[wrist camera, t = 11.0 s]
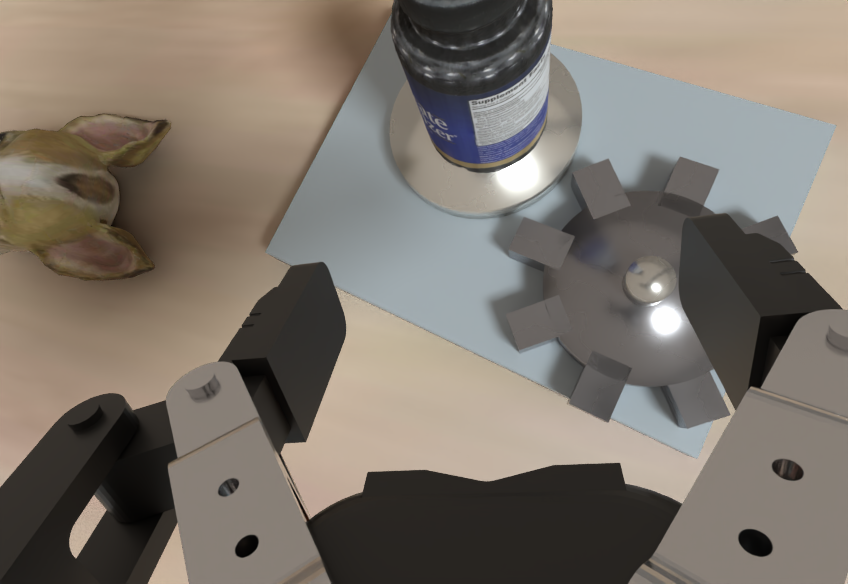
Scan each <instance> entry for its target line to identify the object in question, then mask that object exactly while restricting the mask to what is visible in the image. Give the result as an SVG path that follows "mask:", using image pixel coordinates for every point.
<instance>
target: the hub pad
mask: <svg viewBox="0 0 848 584" xmlns="http://www.w3.org/2000/svg"><path fill="white" fill-rule="evenodd" d="M581 126H582V104H581V99H580V94H579V91H578V88H577V86H576V83H575V81H574V79H573V78H572V76H571V74H570V72H569V71H568V70H567V68H566V67H565V66H564V65H563V63H562V62H561V61H560V60H558V59H557V58H556V57H555V56H554V55H553V54H551V53H550V71H549V93H548V113H547V123H546V127H545V129H544V131H543V134H542V136H541V138H540V140H539V142H538V143H537V145H536V147H535V148H534V149H533V150H532V151H531V152H530V153H529V154H528V155H527V156H526V157H524V158H523V159H522V160H521V161H519V162H517V163H515V164H514V165H512V166H509V167H507V168H505V169H502V170H500V171H496V172H490V173H476V172H470V171H468V170H467V169H465V168H463V167H457V166H455V165H452V164H450V163H449V162H447V161H446V160H445V159H444V158H443V157H442V156H441V155H440V154H439V153H438V152H437V150H436V149H435V147H434V145H433V143H432V141H431V139H430V136H429V134H428V132H427V129H426V127H425V124H424V121H423V118H422V116H421V114H420V111H419V109H418V106H417V103H416V101H415V98H414V96H413V94H412V91H411V88H410V85H409V83H408V80H406V82H405V83H404V85H403V87H402V88H401V90H400V92H399V94H398V96H397V98H396V101H395V103H394V106H393V110H392V113H391V119H390V132H389V136H390V145H391V149H392V153H393V157H394V159H395V161H396V164H397V166H398V168H399V170H400V172H401V173H402V175H403V177H404V178H405V180H406V182H407V183H408V185H409V186H410V187H411V189H412V190H413V191H414V192H415V193H416V194H417V195H418V196H419V197H420V198H421V199H422V200H423V201H424V202H426V203H427V204H429V205H430V206H432V207H433V208H435V209H437V210H439V211H442V212H444V213H446V214H449V215H452V216H455V217H461V218H466V219H493V218H499V217H504V216H507V215H511V214H514V213H517V212H519V211H521V210H523V209H526V208H528V207H530V206H531V205H533V204H535V203H536V202H538V201H540V200H541V199H542V198H543V197H545V196H546V195H547V194H548V193H550V192H551V191H552V190H553V189H554V188H555V187H556V185H557V184H558V183H559V182H560V181H561V179H562V178H563V177H564V175H565V174H566V173H567V171H568V169H569V167H570V166H571V164H572V162H573V159H574V157H575V154H576V152H577V148H578V143H579V139H580V133H581Z"/></svg>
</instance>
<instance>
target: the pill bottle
mask: <svg viewBox="0 0 848 584" xmlns="http://www.w3.org/2000/svg"><path fill="white" fill-rule="evenodd" d="M552 11H553V8H552V0H394V3H393V7H392V16H391V34H392V39H393V43H394V46H395V50H396V52H397V55H398V58H399V60H400V62H401V65H402V68H403V70H404V73H405V75H406V78H407V80H408V83H409V85H410V88H411V91H412V94H413V96H414V98H415V101H416V103H417V106H418V109H419V111H420V114H421V116H422V118H423V121H424V124H425V127H426V129H427V132H428V134H429V136H430V139H431V141H432V143H433V145H434V147H435V149H436V150H437V152H438V153H439V154H440V155H441V156H442V157H443V158H444V159H445V160H446V161H447V162H449V163H450V164H452V165H455V166H457V167H463V168H465V169H467V170H468V171H470V172H476V173H490V172H496V171H500V170H502V169H505V168H507V167H509V166H512V165H514V164H515V163H517V162H519V161H521V160H522V159H523V158H524V157H526V156H527V155H528V154H529V153H530V152H531V151H532V150H533V149H534V148H535V147H536V145H537V143H538V142H539V140H540V138H541V136H542V134H543V131H544V129H545V127H546V123H547V113H548V93H549V71H550V47H551V29H552V16H553V15H552Z"/></svg>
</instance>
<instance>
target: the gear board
mask: <svg viewBox="0 0 848 584" xmlns="http://www.w3.org/2000/svg"><path fill="white" fill-rule="evenodd" d="M391 16H392V13H391V15H390V17H389V19H388V21H387V23H386V25H385V27H384V29H383V30H382V32H381V34H380V36H379V38H378V40H377V42H376V44H375V46H374V47H373V49H372V51H371V53H370V55H369V57H368V59H367V61H366V63H365V64H364V66H363V68H362V70H361V72H360V74H359V76H358V78H357V80H356V81H355V83H354V85H353V87H352V89H351V91H350V93H349V95H348V97H347V98H346V100H345V102H344V104H343V106H342V108H341V110H340V112H339V114H338V115H337V117H336V119H335V121H334V123H333V125H332V127H331V129H330V131H329V132H328V134H327V136H326V138H325V140H324V142H323V144H322V146H321V148H320V149H319V151H318V153H317V155H316V157H315V159H314V161H313V163H312V165H311V166H310V168H309V170H308V172H307V174H306V176H305V178H304V180H303V182H302V183H301V185H300V187H299V189H298V191H297V193H296V195H295V197H294V199H293V200H292V202H291V204H290V206H289V208H288V210H287V212H286V214H285V216H284V217H283V219H282V221H281V223H280V225H279V227H278V229H277V231H276V233H275V234H274V236H273V238H272V240H271V242H270V244H269V246H268V248H267V250H266V251H265V253H267V254H269V255H271V256H273V257H274V258H276V259H278V260H280V261H282V262H284V263H286V264H288V265H290V266H293V265H299V264H307V263H315V262H324V263H325V264H326V265H327V267H328V269H329V272H330V274H331V277H332V280H333V283H334V286H335V287H336V288H339V289H341V290H343V291H345V292H347V293H349V294H351V295H353V296H355V297H357V298H359V299H362V300H364V301H366V302H368V303H370V304H372V305H374V306H376V307H378V308H380V309H382V310H384V311H387V312H389V313H391V314H393V315H395V316H397V317H399V318H401V319H403V320H405V321H407V322H410V323H412V324H414V325H416V326H418V327H420V328H422V329H424V330H426V331H428V332H430V333H433V334H435V335H437V336H439V337H441V338H443V339H445V340H447V341H449V342H451V343H453V344H456V345H458V346H460V347H462V348H464V349H466V350H468V351H470V352H472V353H474V354H476V355H479V356H481V357H483V358H485V359H487V360H489V361H491V362H493V363H495V364H497V365H499V366H502V367H504V368H506V369H508V370H510V371H512V372H514V373H516V374H518V375H520V376H522V377H525V378H527V379H529V380H531V381H533V382H535V383H537V384H539V385H541V386H543V387H545V388H547V389H550V390H552V391H554V392H556V393H558V394H560V395H562V396H564V397H566V398H568V399H569V398H570V396H571V393H572V391H573V389H574V387H575V385H576V382H577V380H578V378H579V376H580V373H581V371H582V369H583V366H581V365H580V364H579V363H578V362H576V361H575V360H574V359H573V358H572V357H571V356H570V355H569V354H568V353H567V352H566V351H565V349H564V348H563V347H562V346H561V345H560V343H559V342H558V340H557V341H554V342H552V343H549V344H546V345H543V346H540V347H537V348H534V349H532V350H529V351H526V352H523V353H520V352H519V349H518V347H517V344H516V341H515V339H514V336H513V333H512V331H511V328H510V325H509V323H508V320H507V317H506V314H508V313H510V312H513V311H516V310H519V309H521V308H524V307H527V306H530V305H532V304H535V303H538V302H541V301H543V290H542V288H543V276H544V272H543V271H540V270H538V269H535V268H533V267H531V266H528V265H526V264H523V263H521V262H518V261H516V260H514V259H511V258H510V257H509V251H508V249H509V247H510V245H511V243H512V240H513V238H514V236H515V234H516V232H517V230H518V228H519V226H520V224H521V222H522V220H523V217H526V218H529V219H531V220H534V221H537V222H539V223H542V224H544V225H547V226H550V227H552V228H555V229H557V230H560V231H561V230H562V229H563V228H564V226H565V225H566V224H567V223H568V222H569V221H570V220H571V219H572V218H573V217H574V216H576V215H577V214H578V213H579V212H581V211H582V210H581V208H580V205H579V203H578V201H577V199H576V196H575V194H574V192H573V190H572V187H571V185H570V184H571V178H572V172H575V171H577V170H580V169H582V168H585V167H587V166H590V165H593V164H595V163H598V162H600V161H603V160H605V159H608V158H609V160H610V162H611V164H612V167H613V169H614V171H615V173H616V175H617V177H618V179H619V181H620V183H621V186H622V188H623V190H624V192H631V191H660V192H662V191H663V189H664V187H665V184H666V182H667V180H668V178H669V175H670V173H671V171H672V169H673V167H674V166H675V164H676V162H677V161H678V159H679V157H683V158H686V159H689V160H692V161H695V162H699V163H702V164H705V165H708V166H711V167H714V168H717V169H720V170H719V172H718V174H717V177H716V179H715V181H714V183H713V186H712V188H711V190H710V192H709V195H708V197H707V199H706V202H705V204H704V206H705V207H707V208H708V209H710V210H711V211H713V212H714V213H715V214H720V213H727V214H728V215H729V216H730V217H731V218H732V219H733V220H734V221H735V222H736V224H737V225H738V226H739V227H740V228H741V229H742V228H745V227H747V226H750V225H753V224H756V223H758V222H761V221H764V220H767V219H769V218H772V217H775V216H778V217H779V219H780V220H781V222H782V224H783V226H784V228H785V229H786V231H787V233H788V235H789V237H790V236H791V233H792V231H793V229H794V226H795V224H796V221H797V219H798V217H799V214H800V212H801V209H802V207H803V205H804V202H805V200H806V197H807V195H808V193H809V190H810V188H811V185H812V183H813V181H814V178H815V176H816V173H817V171H818V169H819V166H820V164H821V161H822V159H823V157H824V154H825V152H826V149H827V147H828V145H829V142H830V140H831V138H832V135H833V133H834V130H835V128H836V125H833V124H829V123H826V122H822V121H819V120H815V119H812V118H808V117H805V116H801V115H798V114H794V113H791V112H787V111H784V110H780V109H777V108H773V107H770V106H766V105H763V104H759V103H756V102H752V101H749V100H745V99H742V98H738V97H735V96H731V95H728V94H724V93H721V92H717V91H714V90H710V89H707V88H703V87H700V86H696V85H693V84H689V83H686V82H682V81H679V80H675V79H672V78H668V77H665V76H661V75H657V74H654V73H650V72H647V71H643V70H640V69H636V68H633V67H629V66H626V65H622V64H619V63H615V62H612V61H608V60H605V59H601V58H598V57H594V56H591V55H587V54H584V53H580V52H577V51H573V50H570V49H566V48H563V47H559V46H556V45H552V44H551V47H550V53H551V54H553V55H554V56H555V57H556V58H557V59H558V60H560V61H561V62H562V63H563V65H564V66H565V67H566V68H567V70H568V71H569V72H570V74H571V76H572V78H573V79H574V81H575V83H576V86H577V88H578V91H579V94H580V99H581V104H582V126H581V133H580V139H579V143H578V148H577V152H576V154H575V157H574V159H573V162H572V164H571V166H570V167H569V169H568V171H567V173H566V174H565V175H564V177H563V178H562V179H561V181H560V182H559V183H558V184H557V185H556V187H555V188H554V189H553V190H552V191H551V192H550V193H548V194H547V195H546V196H545V197H543V198H542V199H541V200H540V201H538V202H536V203H535V204H533V205H531V206H530V207H528V208H526V209H523V210H521V211H519V212H517V213H514V214H511V215H507V216H504V217H499V218H493V219H466V218H461V217H455V216H452V215H449V214H446V213H444V212H442V211H439V210H437V209H435V208H433V207H432V206H430V205H429V204H427V203H426V202H424V201H423V200H422V199H421V198H420V197H419V196H418V195H417V194H416V193H415V192H414V191H413V190H412V189H411V187H410V186H409V185H408V183H407V182H406V180H405V178H404V177H403V175H402V173H401V172H400V170H399V168H398V166H397V164H396V161H395V159H394V157H393V153H392V149H391V145H390V136H389V132H390V119H391V113H392V110H393V106H394V103H395V101H396V98H397V96H398V94H399V92H400V90H401V88H402V87H403V85H404V83H405V82H406V80H407V78H406V75H405V73H404V70H403V68H402V65H401V62H400V60H399V58H398V55H397V52H396V50H395V46H394V43H393V39H392V34H391ZM710 373H711V375H712V377H713V379H714V381H715V383H716V385H717V387H718V389H719V392H720V394H721V396H722V398H723V396H724V394H725V389H724V387H723V385H722V383H721V381H720V379H719V377H718V376H717V374H716V372H715V370H714V369H713V370H711V371H710ZM610 419H612V420H614V421H616V422H619V423H621V424H623V425H625V426H627V427H629V428H631V429H633V430H635V431H637V432H639V433H642V434H644V435H646V436H648V437H650V438H652V439H654V440H656V441H658V442H660V443H662V444H665V445H667V446H669V447H671V448H673V449H675V450H677V451H679V452H681V453H683V454H685V455H687V456H690V457H693V458H696V459H697V458H698V456H699V454H700V451H701V449H702V446H703V444H704V442H705V439H706V437H707V434H708V432H709V430H710V427H711V425H712V423H713V421H710V422H707V423H704V424H701V425H698V426H695V427H692V428H689V429H686V428H680V427H678V425H677V423H676V421H675V419H674V416H673V414H672V412H671V410H670V407H669V405H668V403H667V401H666V398H665V396H664V394H663V392H662V390H661V387H660V386H659V387H635V386H627V385H625V386H624V388H623V391H622V393H621V395H620V397H619V400H618V402H617V404H616V406H615V409H614V411H613V413H612V416H611V418H610Z"/></svg>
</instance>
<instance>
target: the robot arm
mask: <svg viewBox="0 0 848 584" xmlns="http://www.w3.org/2000/svg"><path fill="white" fill-rule="evenodd" d="M678 284H679V296H680V301H681V305H682V308H683V310H684V312H685V314H686V316H687V318H688V320H689V322H690V324H691V325H692V327H693V329H694V331H695V333H696V335H697V337H698V339H699V341H700V343H701V345H702V347H703V349H704V351H705V352H706V354H707V356H708V358H709V360H710V362H711V364H712V366H713V368H714V370H715V372H716V374H717V376H718V377H719V379H720V381H721V383H722V385H723V387H724V389H725V391H726V393H727V395H728V397H729V399H730V401H731V402H732V404H733V406H734V408H735V410H736V411H735V413H734V415H733V417H732V418H731V420H730V422H729V424H728V425H727V427H726V429H725V431H724V432H723V434H722V436H721V438H720V439H719V441H718V443H717V445H716V446H715V448H714V450H713V452H712V453H711V455H710V457H709V459H708V460H707V462H706V464H705V466H704V467H703V469H702V471H701V473H700V474H699V476H698V478H697V480H696V481H695V483H694V485H693V487H692V488H691V490H690V492H689V494H688V495H687V497H686V499H685V501H684V502H683V504H681V503H680V502H678V501H676V500H674V499H672V498H670V497H667V496H665V495H662V494H660V493H657V492H655V491H652V490H648V489H645V488H642V487H638V486H634V485H629V484H625V482H624V478H623V473H622V469H621V465H620V463H605V464H577V465H553V466H549V467H545V468H541V469H537V470H533V471H530V472H526V473H522V474H518V475H514V476H510V477H506V478H503V479H499V480H495V481H487V482H485V481H478V480H473V479H468V478H463V477H458V476H453V475H448V474H443V473H438V472H433V471H428V470H411V471H384V472H368V473H367V477H366V481H365V485H364V490H363V492H361V493H358V494H355V495H352V496H350V497H347V498H345V499H342V500H340V501H338V502H336V503H334V504H332V505H330V506H329V507H327V508H326V509H324V510H322V511H321V512H319V513H318V514H316V515H315V516H314V517H312V518H311V516H310V514H309V512H308V510H307V508H306V506H305V504H304V501H303V499H302V497H301V495H300V493H299V491H298V489H297V486H296V484H295V482H294V480H293V478H292V476H291V473H290V471H289V469H288V467H287V465H286V463H285V461H284V459H283V457H282V455H281V451H282V448H283V446H284V444H285V443H298V442H306V440H307V438H308V435H309V432H310V430H311V427H312V425H313V422H314V419H315V417H316V414H317V411H318V409H319V406H320V403H321V401H322V398H323V395H324V393H325V390H326V388H327V385H328V382H329V380H330V377H331V374H332V372H333V369H334V366H335V364H336V361H337V359H338V356H339V353H340V351H341V348H342V345H343V343H344V340H345V336H346V321H345V316H344V312H343V309H342V307H341V304H340V301H339V298H338V295H337V292H336V289H335V286H334V283H333V280H332V277H331V274H330V272H329V269H328V267H327V265H326V264H325V263H324V262H315V263H307V264H299V265H293V266H291V267H290V269H289V270H288V272H287V273H286V275H285V276H284V278H283V280H282V281H281V283H280V284H279V286H278V287H274V288H273V289H272V290H270V291H269V292H268V293H267V294H266V295H264V296H263V297H262V298H261V299H259V300H258V302H257V303H256V305H255V306H254V308H253V309H252V311H251V312H250V314H249V315H250V317H247V318H246V320H245V321H244V323H243V324H242V328H240V329H239V330H238V332H237V333H236V335H235V336H234V338H233V339H232V341H231V342H230V344H229V345H228V347H227V348H226V350H225V351H224V353H223V355H222V356H221V358H220V359H219V361H218V362H213V363H209V364H206V365H203V366H200V367H198V368H196V369H194V370H192V371H190V372H189V373H187V374H185V375H184V376H183V377H181V378H180V379H179V380H178V381H177V382H176V383H175V384H174V385H173V386H172V387H171V389H170V390H169V392H168V394H167V397H166V400H165V401H162V402H159V403H156V404H152V405H149V406H146V407H142V408H139V409H136V410H132V408H131V407H130V406H129V404H128V403H127V401H126V400H125V398H124V397H123V396H122V395H120V394H115V393H109V394H103V395H99V396H96V397H93V398H90V399H88V400H86V401H84V402H82V403H80V404H78V405H77V406H75V407H74V408H72V409H71V410H69V411H68V412H67V413H65V414H64V415H63V416H62V417H61V418H60V419H59V420H58V421H57V422H56V423H55V424H54V425H53V426H52V428H51V429H50V430H49V431H48V432H47V433H46V435H45V436H44V437H43V438H42V439H41V440H40V442H39V443H38V444H37V445H36V446H35V447H34V449H33V450H32V451H31V452H30V453H29V454H28V456H27V457H26V458H25V459H24V460H23V462H22V463H21V464H20V465H19V466H18V467H17V469H16V470H15V471H14V472H13V473H12V474H11V476H10V477H9V478H8V479H7V480H6V481H5V483H4V484H3V485H2V486H1V487H0V584H148V582H149V580H150V577H151V575H152V573H153V571H154V569H155V567H156V565H157V563H158V561H159V559H160V557H161V555H162V553H163V551H164V549H165V547H166V545H167V543H168V541H169V539H170V537H171V535H172V533H173V531H174V528H175V526H176V524H177V522H178V527H179V532H180V537H181V543H182V548H183V554H184V559H185V565H186V570H187V575H188V581H189V584H844V583H845V580H846V576H847V573H848V310H843V309H842V308H841V307H840V305H839V304H838V303H837V302H836V301H835V300H834V299H833V298H832V297H831V296H830V295H829V294H828V293H827V292H826V291H825V290H824V289H823V288H822V287H821V286H820V285H819V284H818V283H817V282H816V280H815V279H814V278H813V277H812V276H811V275H810V274H809V273H806V272H805V269H804V268H803V267H802V266H801V265H800V264H799V263H798V262H797V261H794V258H793V256H792V255H791V254H790V253H789V252H788V251H787V250H786V249H785V248H784V247H783V246H782V245H781V244H780V243H778V242H775V241H773V240H771V239H769V238H767V237H765V236H763V235H761V234H759V233H752V234H745V233H744V232H743V230H742V229H741V228H740V227H739V226H738V225H737V224H736V222H735V221H734V220H733V219H732V218H731V217H730V216H729V215H728V214H727V213H720V214H712V215H704V216H696V217H688V218H686V219H685V220H684V223H683V228H682V240H681V254H680V267H679V283H678ZM93 495H95V496H96V498H97V499H98V500H99V501H100V502H101V503H102V505H103V506H104V507H105V508H106V509H107V511H106V512H105V514H104V515H103V517H102V519H101V520H100V522H99V523H98V525H97V527H96V528H95V530H94V531H93V533H92V535H91V536H90V538H89V539H88V541H87V543H86V544H85V546H84V547H83V549H82V550H81V552H80V554H79V555H78V557H77V558H75V557H74V556H73V555H72V553H71V551H70V547H69V538H70V533H71V530H72V527H73V525H74V524H75V522H76V520H77V519H78V517H79V516H80V514H81V513H82V511H83V510H84V509H85V507H86V506H87V504H88V503H89V501H90V500H91V498H92V497H93Z"/></svg>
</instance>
